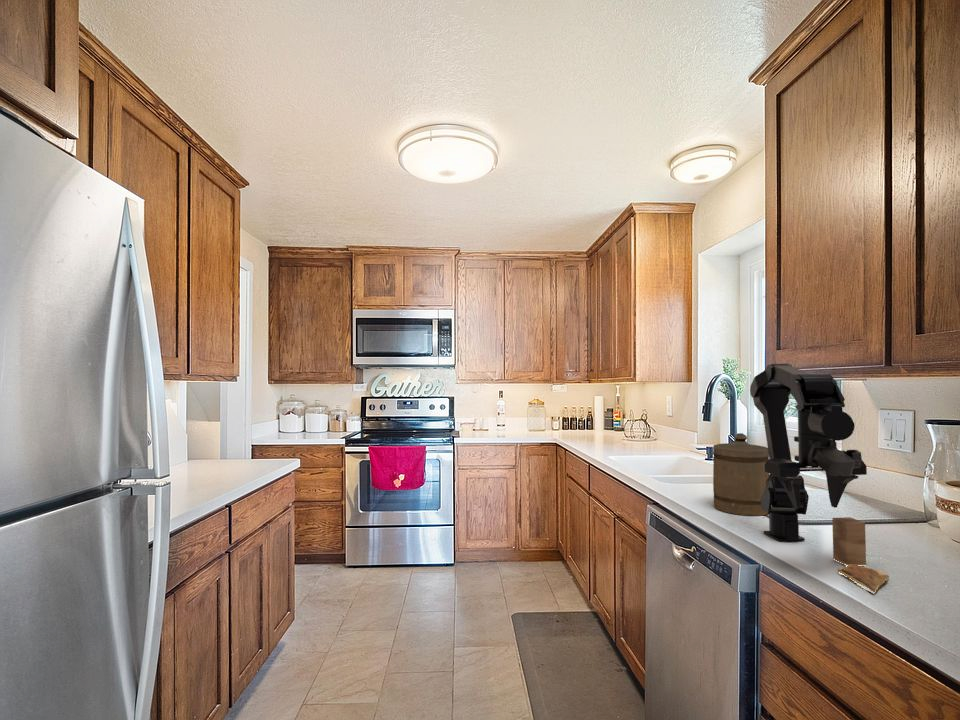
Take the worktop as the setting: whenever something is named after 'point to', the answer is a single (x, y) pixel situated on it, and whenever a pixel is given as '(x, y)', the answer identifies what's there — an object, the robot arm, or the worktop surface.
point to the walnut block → (849, 541)
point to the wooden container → (739, 476)
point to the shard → (865, 576)
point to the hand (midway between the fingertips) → (815, 507)
